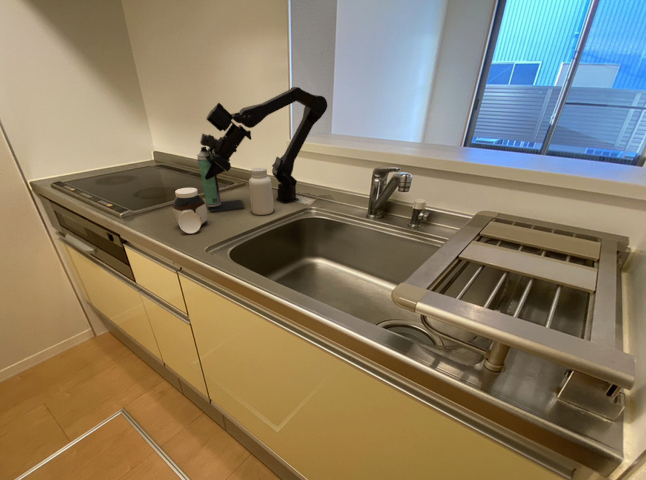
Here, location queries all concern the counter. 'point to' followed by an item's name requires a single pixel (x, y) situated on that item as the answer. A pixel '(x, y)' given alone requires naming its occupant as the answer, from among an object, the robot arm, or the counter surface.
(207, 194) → the spray can
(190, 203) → the spread jar
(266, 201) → the pill bottle
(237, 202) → the mat
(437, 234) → the counter surface
